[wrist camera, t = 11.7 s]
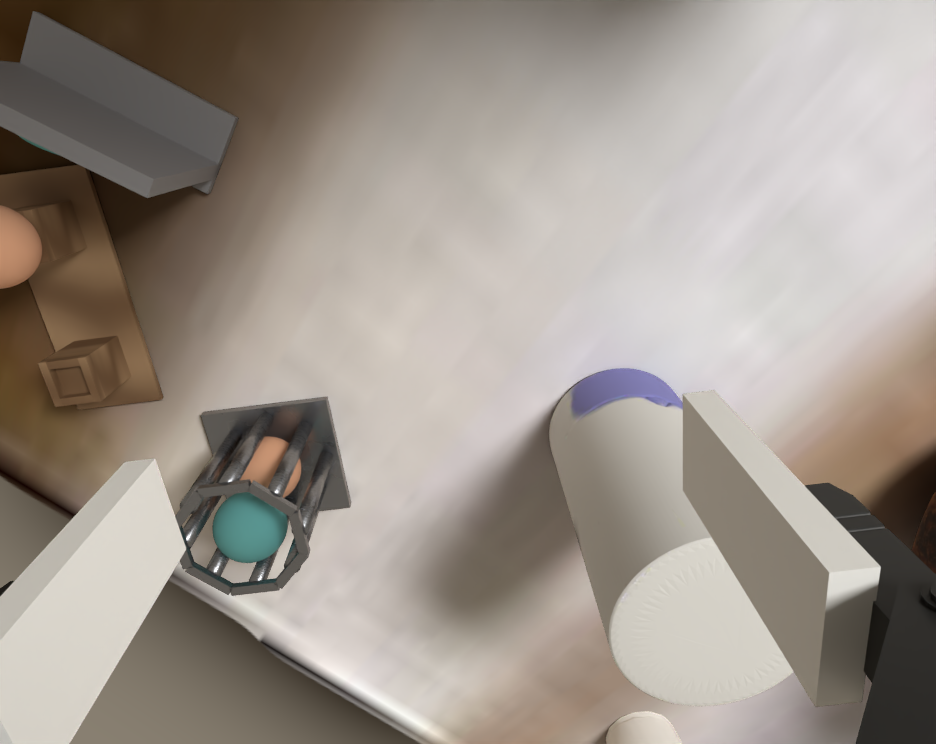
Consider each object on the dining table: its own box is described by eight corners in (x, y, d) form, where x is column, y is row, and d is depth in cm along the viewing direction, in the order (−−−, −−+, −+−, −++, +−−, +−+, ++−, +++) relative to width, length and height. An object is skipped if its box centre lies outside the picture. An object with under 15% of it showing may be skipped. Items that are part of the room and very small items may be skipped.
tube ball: (242, 436, 48) (217, 445, 43) (304, 428, 48) (285, 437, 43) (250, 498, 48) (226, 514, 43) (312, 490, 48) (294, 505, 43)
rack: (-8, 176, 41) (-62, 183, 36) (87, 163, 40) (44, 169, 36) (81, 407, 46) (43, 437, 42) (163, 397, 46) (134, 426, 42)
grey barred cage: (203, 411, 47) (143, 486, 38) (327, 396, 47) (296, 467, 37) (235, 516, 50) (187, 608, 41) (351, 503, 50) (328, 592, 41)
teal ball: (199, 491, 40) (196, 567, 40) (270, 491, 40) (267, 568, 39) (235, 488, 45) (233, 556, 44) (299, 487, 44) (298, 557, 44)
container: (533, 475, 50) (583, 694, 31) (569, 354, 46) (650, 520, 27) (657, 498, 51) (778, 723, 32) (702, 382, 47) (867, 559, 28)
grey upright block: (39, 12, 37) (-97, -21, 28) (238, 117, 40) (174, 120, 30) (17, 96, 39) (-119, 91, 30) (210, 192, 41) (140, 216, 32)
